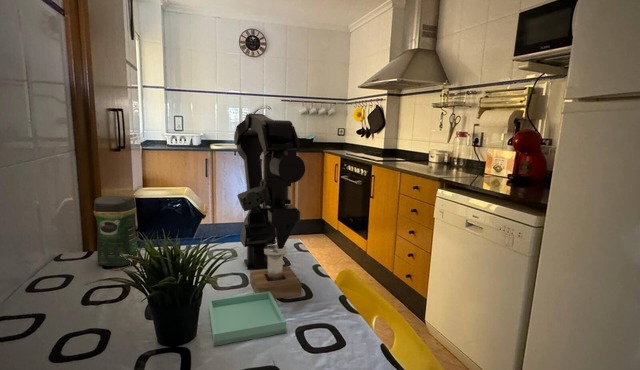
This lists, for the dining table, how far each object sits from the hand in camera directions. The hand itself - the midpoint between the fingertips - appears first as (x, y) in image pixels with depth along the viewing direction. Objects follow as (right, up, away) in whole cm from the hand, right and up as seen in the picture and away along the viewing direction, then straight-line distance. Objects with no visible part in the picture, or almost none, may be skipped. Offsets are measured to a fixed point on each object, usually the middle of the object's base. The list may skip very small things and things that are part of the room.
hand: (275, 242), depth 82 cm
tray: (-4, -14, -13) cm, 19 cm away
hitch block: (0, -11, +2) cm, 12 cm away
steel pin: (0, -11, +2) cm, 12 cm away
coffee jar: (-45, -8, +15) cm, 48 cm away
